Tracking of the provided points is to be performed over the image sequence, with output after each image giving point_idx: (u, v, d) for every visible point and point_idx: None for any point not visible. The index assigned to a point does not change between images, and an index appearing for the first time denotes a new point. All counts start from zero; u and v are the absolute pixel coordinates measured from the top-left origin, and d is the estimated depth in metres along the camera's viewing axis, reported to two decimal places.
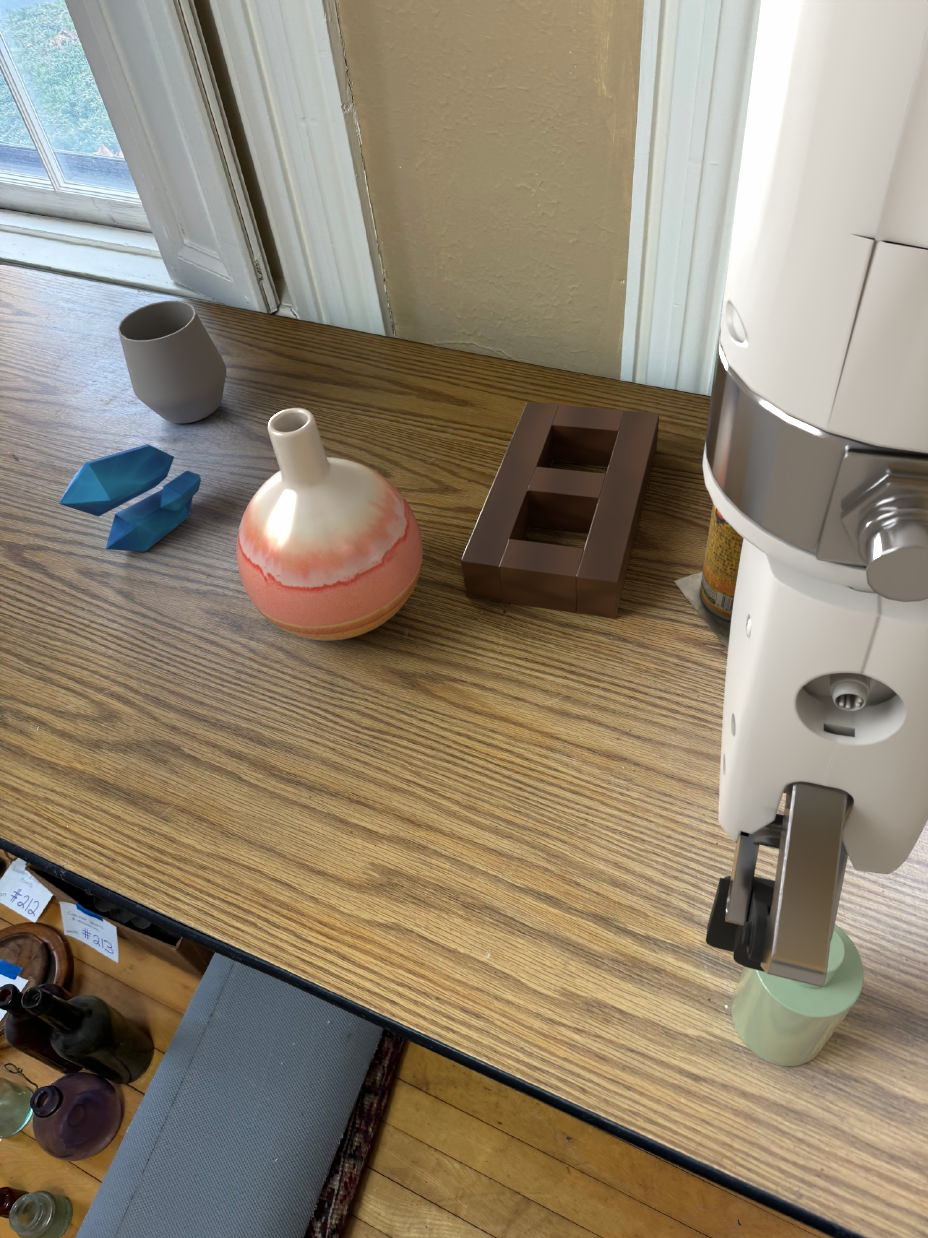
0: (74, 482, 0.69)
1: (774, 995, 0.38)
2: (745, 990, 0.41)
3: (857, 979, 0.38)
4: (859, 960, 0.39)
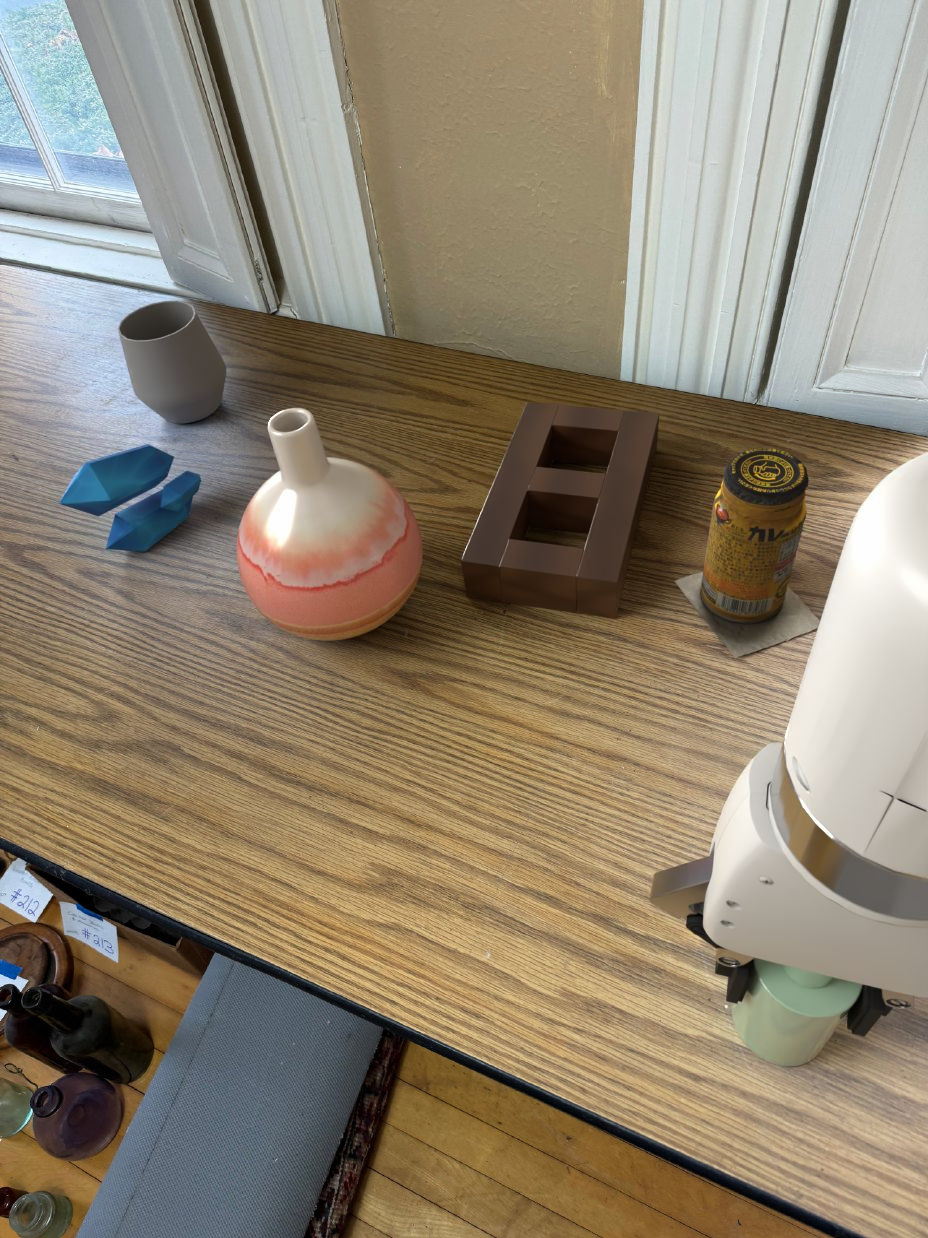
0: (74, 482, 0.69)
1: (773, 995, 0.38)
2: None
3: None
4: None
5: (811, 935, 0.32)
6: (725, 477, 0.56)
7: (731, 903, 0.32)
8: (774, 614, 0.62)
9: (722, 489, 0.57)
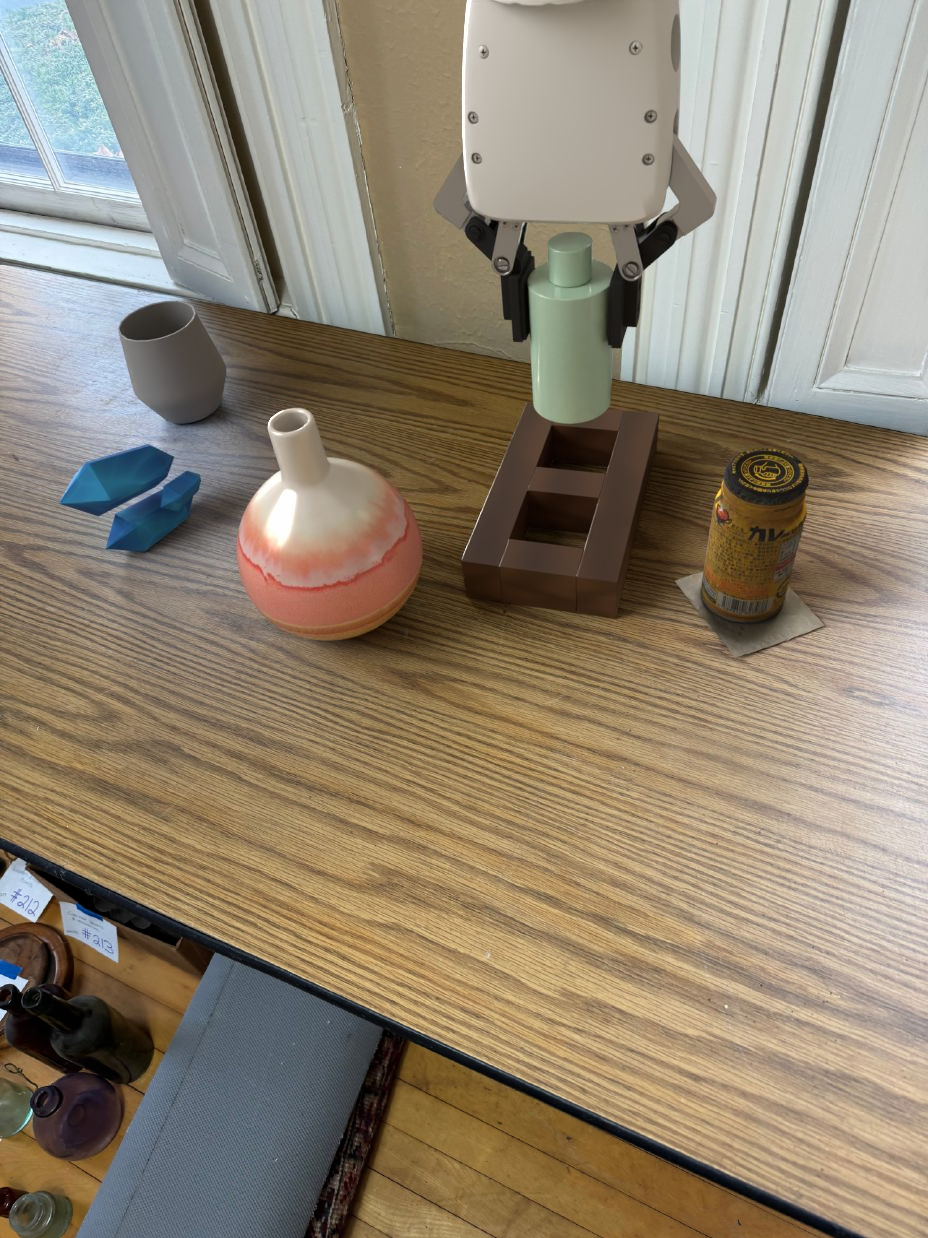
0: (74, 482, 0.69)
1: (538, 293, 0.46)
2: (529, 334, 0.49)
3: (607, 280, 0.46)
4: (612, 272, 0.47)
5: (530, 128, 0.40)
6: (725, 477, 0.56)
7: (471, 117, 0.40)
8: (775, 613, 0.62)
9: (722, 489, 0.57)
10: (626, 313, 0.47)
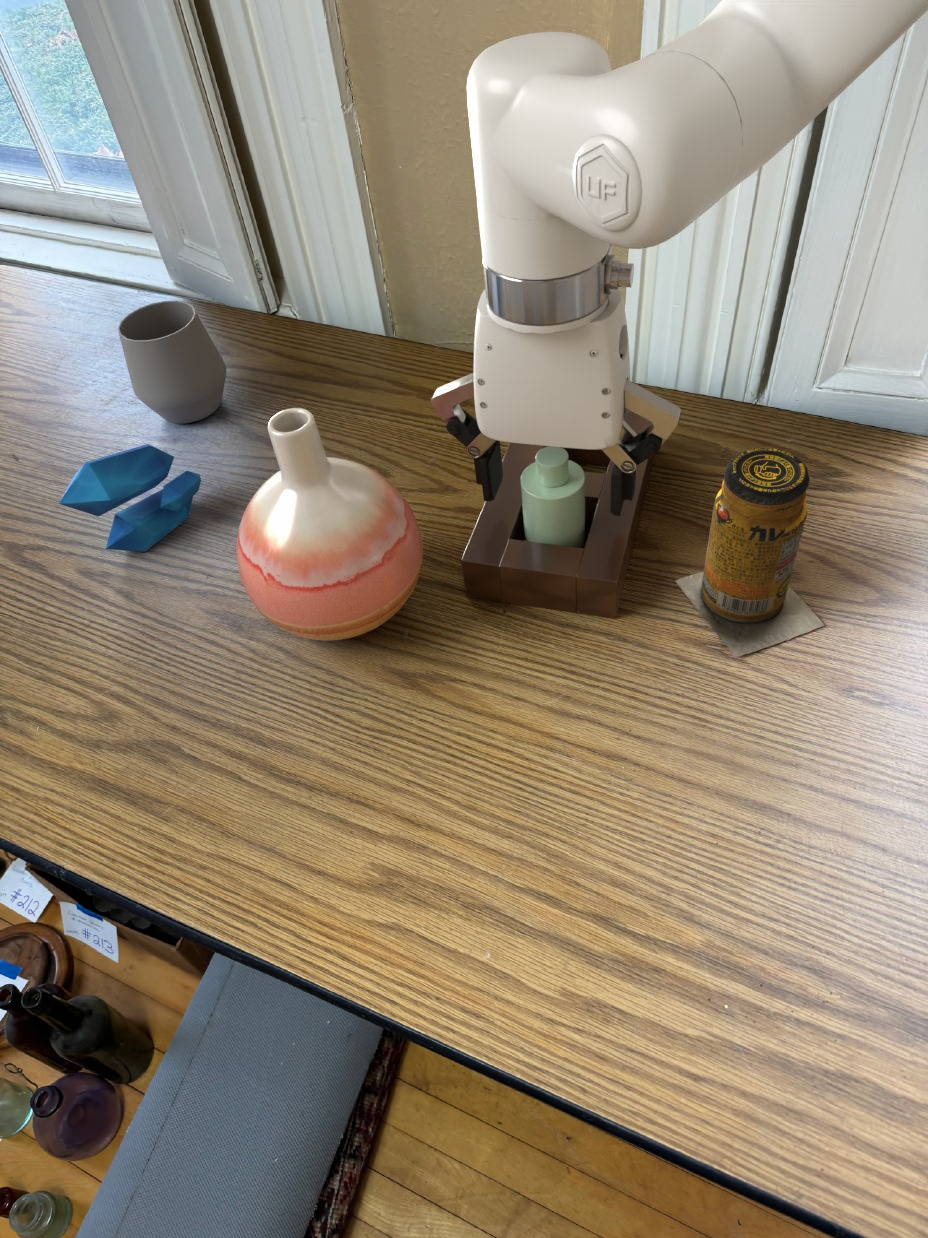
0: (74, 482, 0.69)
1: (529, 491, 0.63)
2: None
3: (580, 482, 0.63)
4: (583, 475, 0.63)
5: (522, 392, 0.56)
6: (726, 477, 0.56)
7: (480, 381, 0.56)
8: (775, 613, 0.62)
9: (723, 489, 0.57)
10: (624, 491, 0.61)
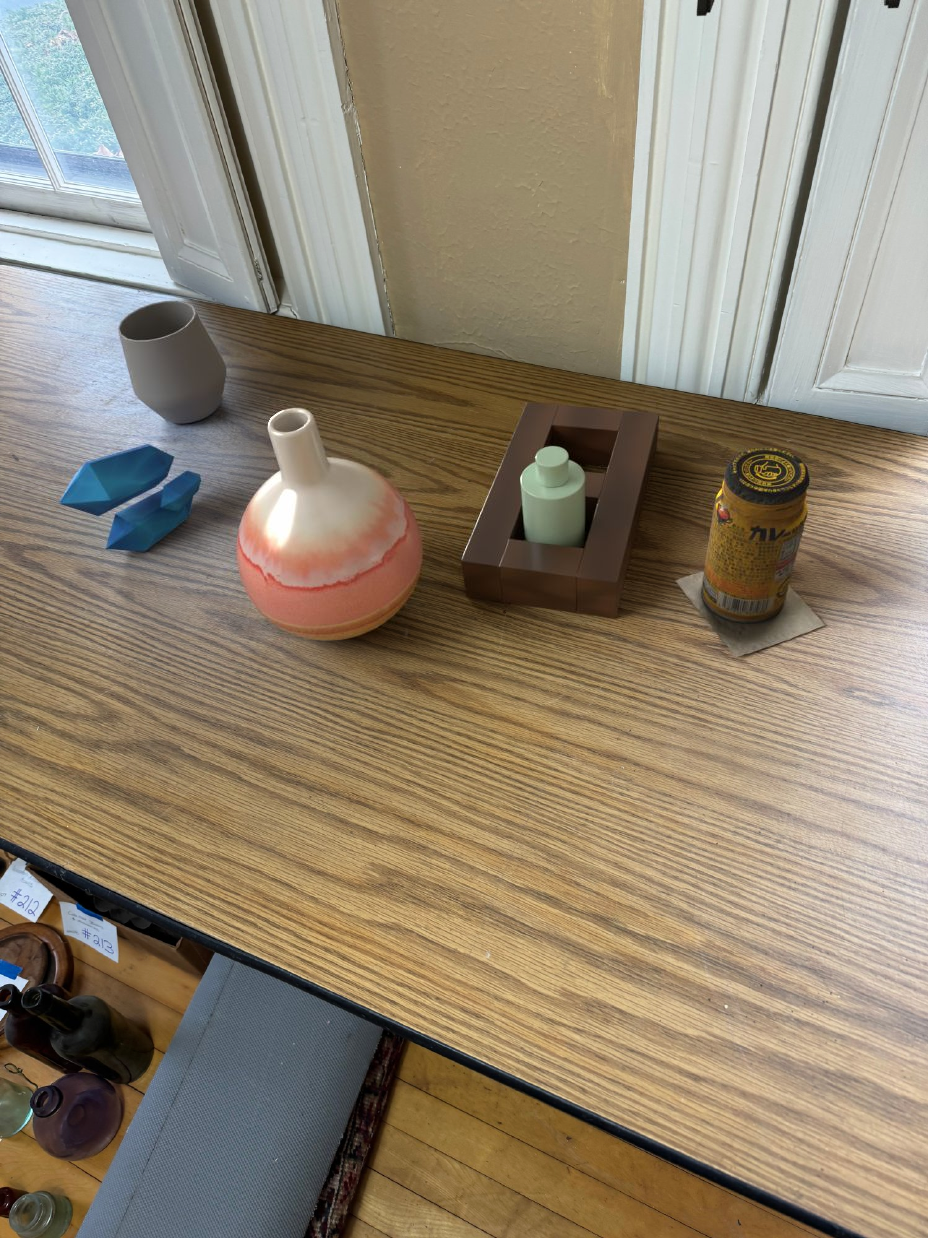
0: (74, 482, 0.69)
1: (529, 491, 0.63)
2: None
3: (580, 482, 0.63)
4: (583, 475, 0.63)
5: None
6: (726, 476, 0.56)
7: None
8: (775, 613, 0.62)
9: (723, 488, 0.57)
10: None
